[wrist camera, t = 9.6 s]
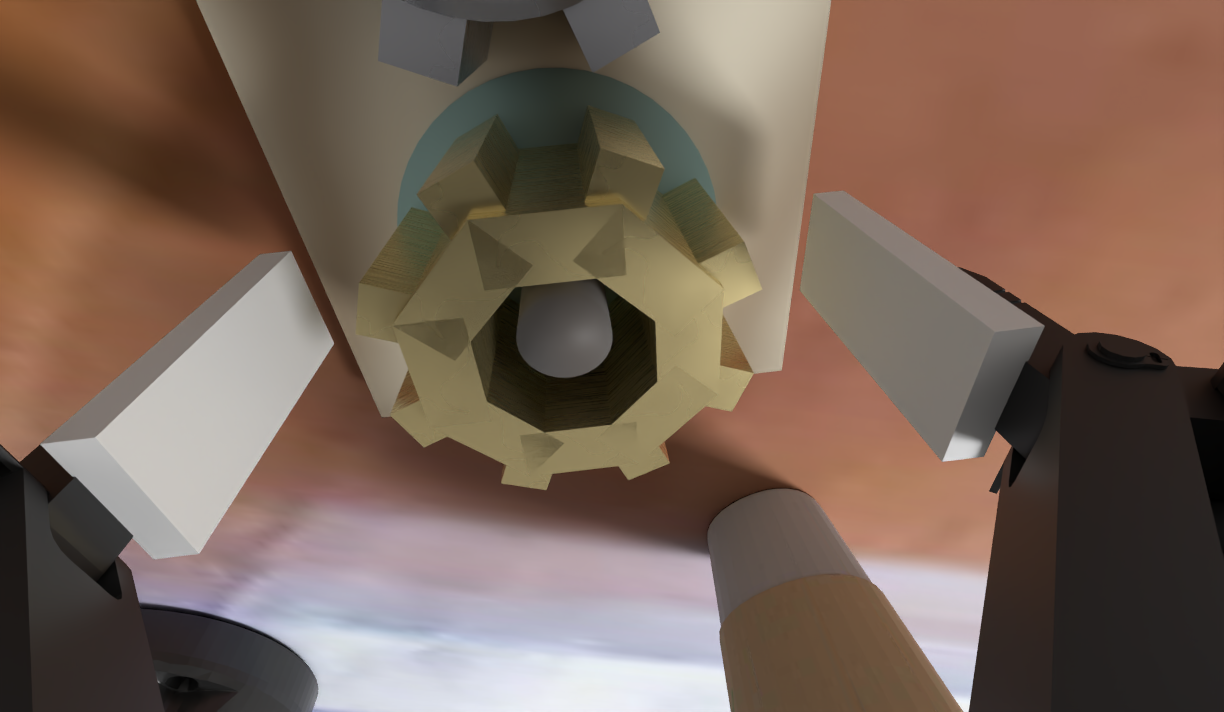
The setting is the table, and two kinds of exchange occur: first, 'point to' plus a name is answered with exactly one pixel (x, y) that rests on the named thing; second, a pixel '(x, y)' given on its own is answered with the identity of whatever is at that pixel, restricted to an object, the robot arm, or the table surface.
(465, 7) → the gear
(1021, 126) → the table surface
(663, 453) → the gear
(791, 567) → the coffee cup
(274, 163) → the gear board
